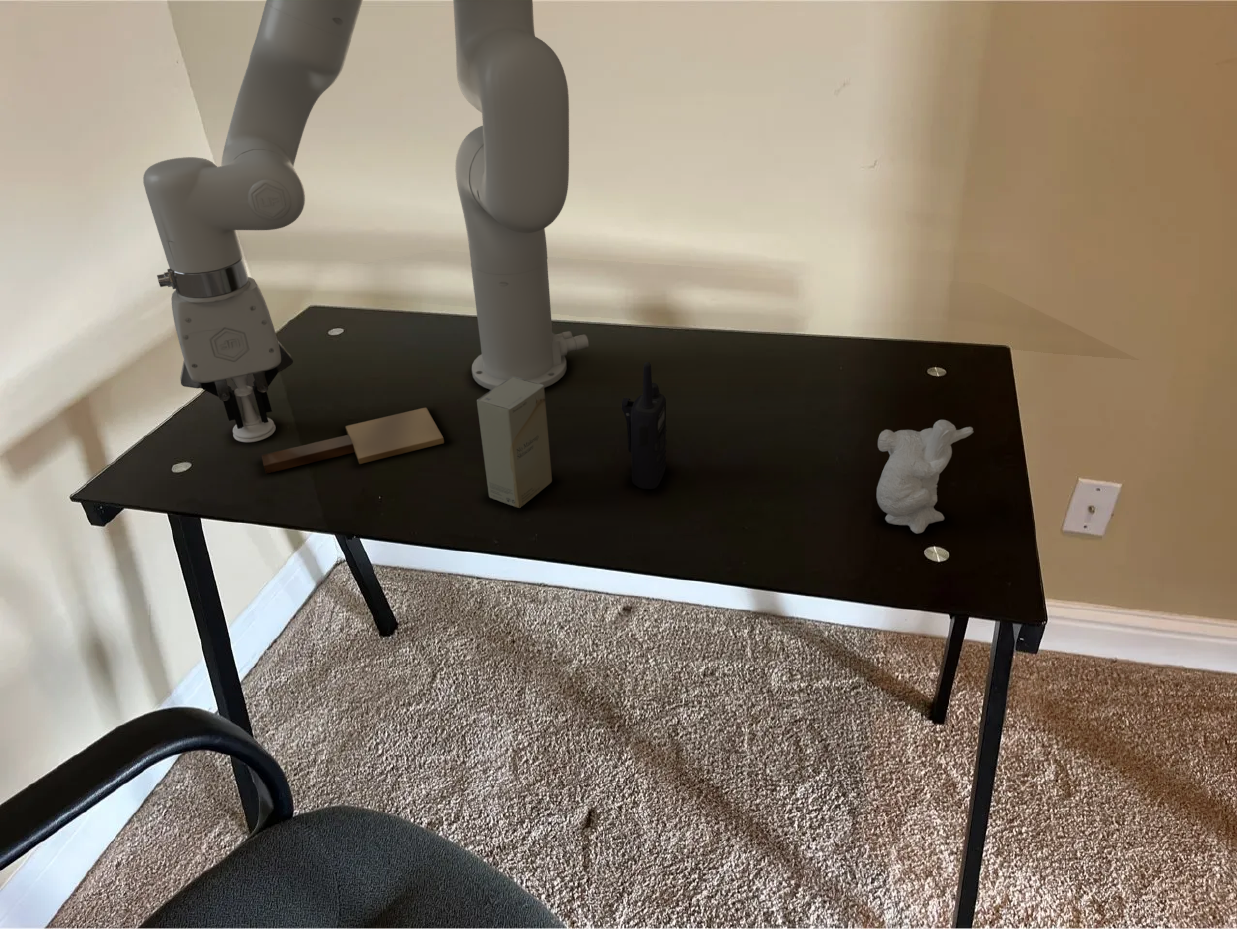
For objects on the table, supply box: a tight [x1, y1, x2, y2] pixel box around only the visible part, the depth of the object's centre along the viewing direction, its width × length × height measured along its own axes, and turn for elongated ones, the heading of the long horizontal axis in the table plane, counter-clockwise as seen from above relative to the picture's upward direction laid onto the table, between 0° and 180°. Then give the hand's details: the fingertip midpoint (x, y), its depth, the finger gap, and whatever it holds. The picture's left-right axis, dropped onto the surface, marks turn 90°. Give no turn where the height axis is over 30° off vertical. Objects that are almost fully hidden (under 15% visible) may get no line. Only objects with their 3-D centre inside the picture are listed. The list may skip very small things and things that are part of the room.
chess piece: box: [230, 375, 276, 443], centre depth 109 cm, size 5×5×10 cm
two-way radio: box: [621, 361, 668, 490], centre depth 98 cm, size 6×4×15 cm
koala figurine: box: [875, 419, 975, 535], centre depth 91 cm, size 8×7×12 cm
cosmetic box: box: [476, 377, 553, 509], centre depth 97 cm, size 6×4×12 cm
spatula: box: [261, 407, 445, 475], centre depth 108 cm, size 20×8×1 cm, turn 114°
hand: (251, 419), depth 111 cm, fingers closed on chess piece
